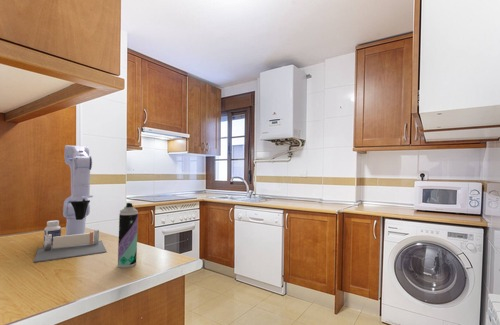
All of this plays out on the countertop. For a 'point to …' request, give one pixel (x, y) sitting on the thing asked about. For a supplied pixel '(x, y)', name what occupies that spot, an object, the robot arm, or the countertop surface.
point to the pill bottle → (52, 230)
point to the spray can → (127, 236)
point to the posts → (49, 238)
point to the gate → (72, 240)
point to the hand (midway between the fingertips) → (80, 218)
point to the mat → (69, 252)
